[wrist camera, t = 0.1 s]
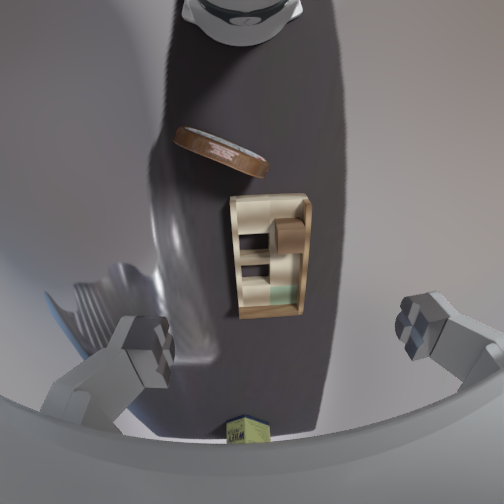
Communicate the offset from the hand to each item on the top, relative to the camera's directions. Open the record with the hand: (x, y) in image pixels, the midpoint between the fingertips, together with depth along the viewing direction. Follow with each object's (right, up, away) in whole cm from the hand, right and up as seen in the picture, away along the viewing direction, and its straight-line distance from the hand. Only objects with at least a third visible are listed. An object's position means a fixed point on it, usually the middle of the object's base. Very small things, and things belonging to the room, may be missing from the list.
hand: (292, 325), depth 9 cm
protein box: (-3, -68, +88) cm, 111 cm away
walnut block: (+5, +6, +38) cm, 39 cm away
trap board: (+2, +2, +44) cm, 44 cm away
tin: (-6, +20, +33) cm, 39 cm away
